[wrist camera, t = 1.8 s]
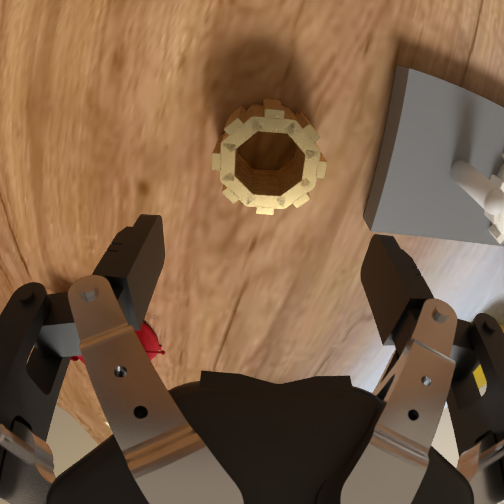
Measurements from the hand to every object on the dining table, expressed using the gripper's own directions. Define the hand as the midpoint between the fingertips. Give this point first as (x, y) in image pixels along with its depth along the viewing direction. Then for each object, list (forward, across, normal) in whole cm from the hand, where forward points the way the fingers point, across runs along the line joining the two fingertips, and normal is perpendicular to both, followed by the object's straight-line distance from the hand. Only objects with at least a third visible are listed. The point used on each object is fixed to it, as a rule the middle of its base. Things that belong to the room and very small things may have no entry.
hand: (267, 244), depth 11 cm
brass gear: (+11, 0, -1) cm, 11 cm away
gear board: (+11, -20, -2) cm, 23 cm away
